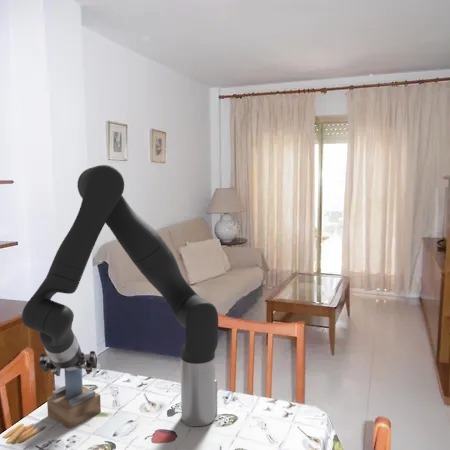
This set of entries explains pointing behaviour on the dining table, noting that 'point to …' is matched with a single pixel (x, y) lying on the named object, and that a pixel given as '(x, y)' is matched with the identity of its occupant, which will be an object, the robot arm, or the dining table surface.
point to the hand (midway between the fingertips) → (73, 371)
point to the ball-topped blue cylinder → (73, 382)
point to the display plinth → (70, 412)
